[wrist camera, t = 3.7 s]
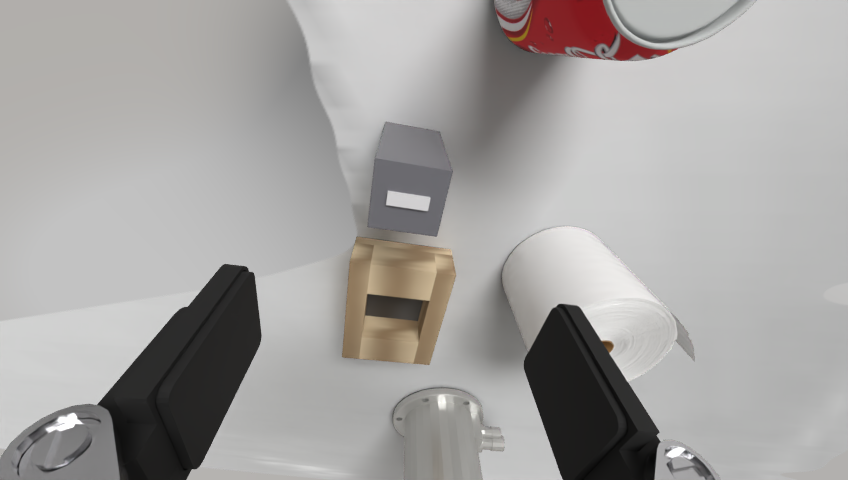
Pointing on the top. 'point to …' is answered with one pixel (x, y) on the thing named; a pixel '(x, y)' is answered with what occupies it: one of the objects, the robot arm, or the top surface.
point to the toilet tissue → (590, 297)
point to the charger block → (409, 180)
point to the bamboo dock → (396, 300)
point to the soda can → (614, 25)
